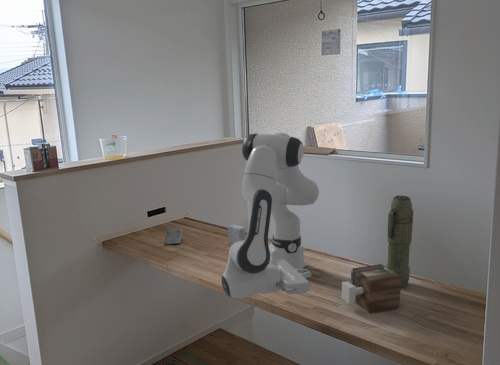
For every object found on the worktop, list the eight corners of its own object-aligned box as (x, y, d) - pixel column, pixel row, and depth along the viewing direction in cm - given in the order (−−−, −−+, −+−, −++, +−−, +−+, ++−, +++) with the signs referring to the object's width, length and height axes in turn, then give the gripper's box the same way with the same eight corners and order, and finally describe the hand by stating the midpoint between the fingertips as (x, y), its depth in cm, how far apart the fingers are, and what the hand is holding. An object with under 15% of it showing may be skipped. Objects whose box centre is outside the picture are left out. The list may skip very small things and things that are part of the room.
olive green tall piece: (415, 283, 189) (421, 196, 182) (397, 291, 182) (402, 201, 175) (396, 276, 196) (401, 192, 189) (378, 284, 188) (382, 197, 181)
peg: (341, 298, 169) (342, 269, 167) (380, 291, 175) (381, 264, 173) (348, 304, 165) (350, 275, 163) (388, 297, 170) (390, 269, 168)
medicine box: (245, 244, 236) (245, 227, 235) (239, 246, 233) (239, 229, 231) (234, 240, 242) (234, 224, 240) (228, 243, 238) (227, 226, 237)
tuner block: (351, 299, 175) (352, 267, 173) (379, 294, 179) (381, 263, 177) (369, 313, 164) (371, 280, 162) (399, 308, 168) (401, 275, 166)
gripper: (283, 282, 147) (324, 276, 152) (260, 258, 166) (296, 253, 170) (283, 301, 149) (323, 294, 153) (260, 275, 167) (296, 270, 172)
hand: (309, 272), depth 162 cm, fingers closed
